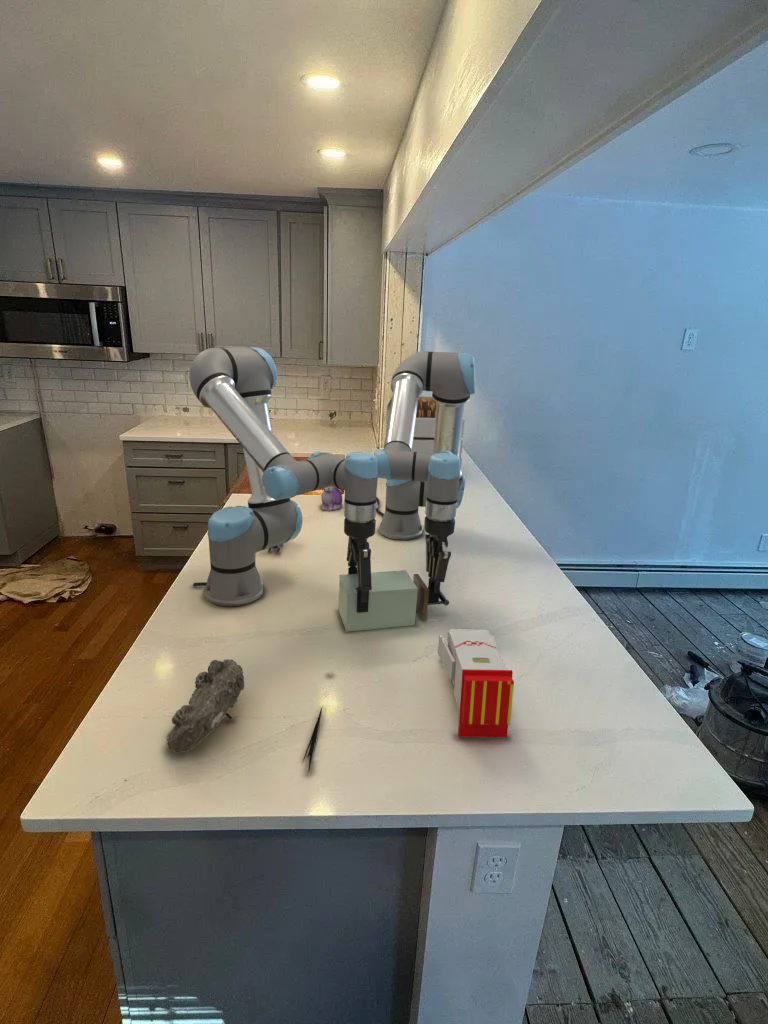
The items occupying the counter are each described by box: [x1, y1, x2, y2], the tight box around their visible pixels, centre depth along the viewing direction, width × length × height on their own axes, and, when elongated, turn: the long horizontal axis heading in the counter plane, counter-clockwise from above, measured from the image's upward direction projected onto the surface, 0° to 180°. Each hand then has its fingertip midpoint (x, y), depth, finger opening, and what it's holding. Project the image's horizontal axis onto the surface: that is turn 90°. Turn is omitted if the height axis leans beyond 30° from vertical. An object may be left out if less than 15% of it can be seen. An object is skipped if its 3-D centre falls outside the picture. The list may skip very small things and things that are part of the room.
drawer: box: [412, 573, 450, 620], centre depth 145 cm, size 22×9×8 cm, turn 105°
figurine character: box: [267, 544, 284, 553], centre depth 184 cm, size 7×8×15 cm
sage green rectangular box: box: [338, 569, 418, 633], centre depth 143 cm, size 18×10×10 cm, turn 105°
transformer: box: [383, 396, 465, 471], centre depth 268 cm, size 34×33×41 cm
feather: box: [301, 673, 332, 771], centre depth 108 cm, size 2×28×2 cm
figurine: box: [320, 487, 343, 511], centre depth 220 cm, size 9×10×15 cm
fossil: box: [166, 658, 245, 754], centre depth 106 cm, size 22×10×15 cm
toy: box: [437, 628, 515, 738], centre depth 117 cm, size 12×13×30 cm
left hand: (357, 600), depth 142 cm, fingers closed on sage green rectangular box, 10 cm apart
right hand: (432, 601), depth 148 cm, fingers closed
